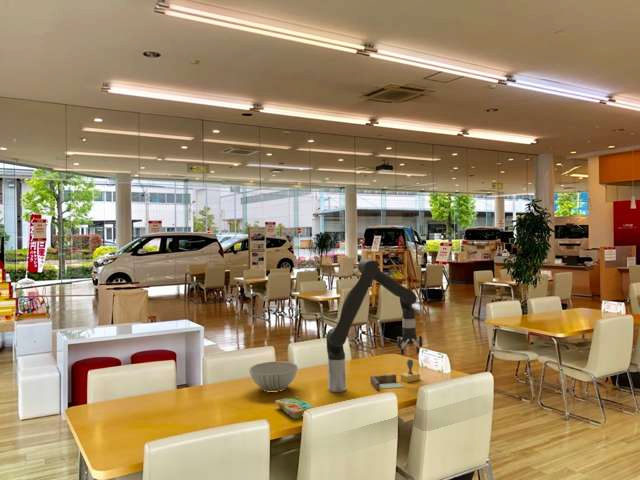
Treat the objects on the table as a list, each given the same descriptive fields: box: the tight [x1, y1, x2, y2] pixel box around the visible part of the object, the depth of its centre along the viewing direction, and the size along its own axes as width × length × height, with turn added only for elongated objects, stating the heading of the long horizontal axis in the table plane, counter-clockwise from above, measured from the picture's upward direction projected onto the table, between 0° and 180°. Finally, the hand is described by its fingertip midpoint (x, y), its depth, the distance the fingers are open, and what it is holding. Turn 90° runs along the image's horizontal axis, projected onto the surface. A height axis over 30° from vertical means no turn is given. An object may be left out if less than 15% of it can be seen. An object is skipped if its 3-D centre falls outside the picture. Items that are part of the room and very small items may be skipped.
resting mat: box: [379, 382, 404, 390], centre depth 280 cm, size 12×8×1 cm, turn 98°
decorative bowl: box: [249, 360, 299, 392], centre depth 279 cm, size 27×27×12 cm
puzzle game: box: [274, 395, 315, 419], centre depth 244 cm, size 12×5×20 cm
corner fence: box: [370, 373, 397, 391], centre depth 280 cm, size 15×14×4 cm
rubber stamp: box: [400, 358, 421, 384], centre depth 289 cm, size 10×6×12 cm, turn 119°
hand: (410, 354), depth 289 cm, fingers open, 8 cm apart
